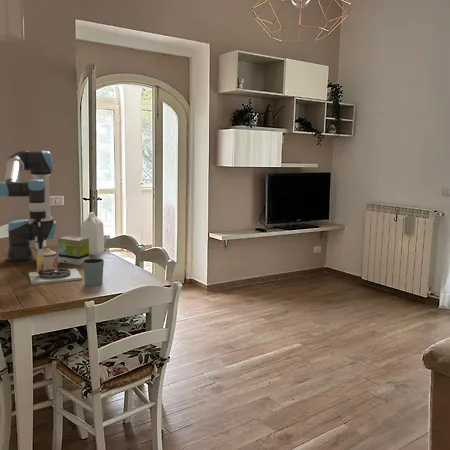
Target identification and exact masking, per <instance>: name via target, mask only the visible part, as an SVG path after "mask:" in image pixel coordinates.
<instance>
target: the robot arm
mask: <svg viewBox="0 0 450 450" xmlns="http://www.w3.org/2000/svg"><path fill="white" fill-rule="evenodd" d="M5 168H6V171H5V175H4V180H3V181H0V197H3V198H4V197H5V198H12V197H13V198H15V197H24V198H25V197H28V207H29V209H28V210H29V218H28V219H27V218H21V219H16V220H12V221H10V222H8V226H7V227H8V228H7V232H8V250H7V252H6V260H7V261H10V262H13V261H14V262H23V261H29V260H33V259H34V258H35V254H34V253H35V252H34V251H33V248H32V246H31V242H32V241H33V242H34V245H35V246H34V247H35V250H37V253H38V255H44V251H45V250H44V241H51V240H54V239H55V237H56V226H57V225H56V224H57V221H56V220H54V217H53V216H52V215H51V200H50V199H51V197H50V196H51V195H50V176H51V175H52V172H54V171H55V168H54V162H53V158H52V153H51V152H50V151H49V150H48V151H47V150H19V151H16V152H14V153H12V154H11V155H10V156H8V158H7V159H6V161H5ZM25 171H27V172H29V175H31V176H32V179H29V180H28V181H21V179H22V172H25ZM29 219H31V220H32V221H30V220H29Z"/></svg>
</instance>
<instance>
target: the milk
mask: <svg viewBox="0 0 450 450" xmlns="http://www.w3.org/2000/svg"><path fill="white" fill-rule="evenodd" d="M104 230H105V229H104V223H103V221H102V220H100V219H99V218H98V217H97V215H96V213H95V211H91V212H88V217H87V218H86V219H85V220H84V221H83V222H82V223H81V225H80V237H84V238H89V254H91V255H93V256H94V255H95V256H98V255H100V254H102V253H104V252H105V251H106V247H105V248H104V244H105V233H104ZM104 250H105V251H104ZM103 251H104V252H103ZM91 255H90V256H91Z"/></svg>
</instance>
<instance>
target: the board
mask: <svg viewBox="0 0 450 450" xmlns="http://www.w3.org/2000/svg"><path fill="white" fill-rule="evenodd" d="M67 269H68V270H70V271H71V273H70V275H68V276H66V277H61V278H42V277H39V274H38V273H37V271H34V272H33V271H32V272H31V271H30V272H28V277H29V280H30V283H31V285H41V284H42V285H44V284H52V283H63V282H74V281H81V280H83V277H82V275H81V274H80V272H79V270H78V269H77V268H67ZM60 272H63V271H60ZM49 276H51V275H49Z"/></svg>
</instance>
